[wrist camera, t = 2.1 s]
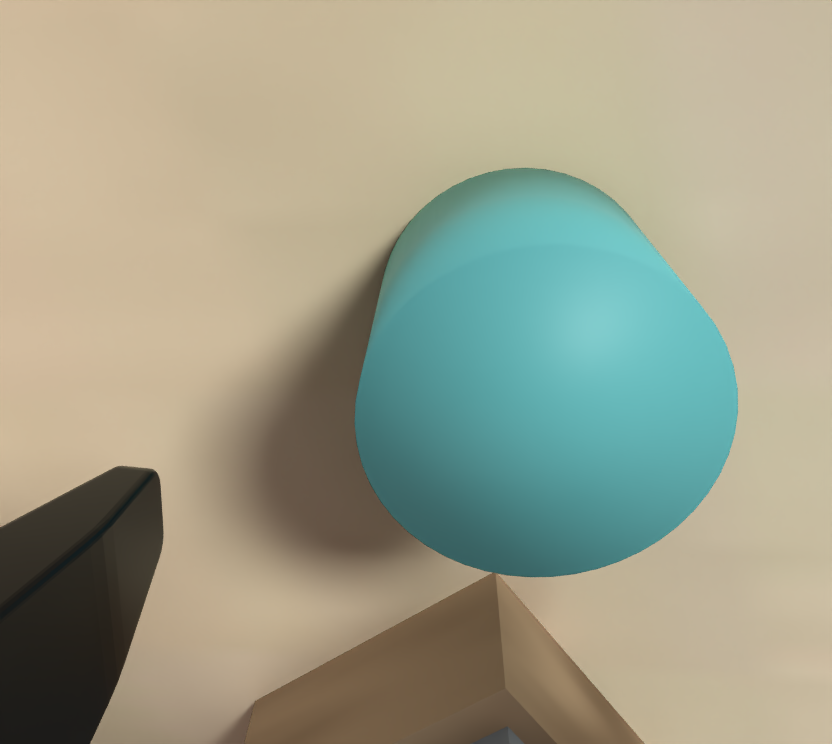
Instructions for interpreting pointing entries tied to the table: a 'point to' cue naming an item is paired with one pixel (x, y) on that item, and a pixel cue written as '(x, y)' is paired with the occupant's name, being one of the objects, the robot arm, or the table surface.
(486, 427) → the teal rounded dome
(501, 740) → the upper block
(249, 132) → the table surface
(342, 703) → the lower block
